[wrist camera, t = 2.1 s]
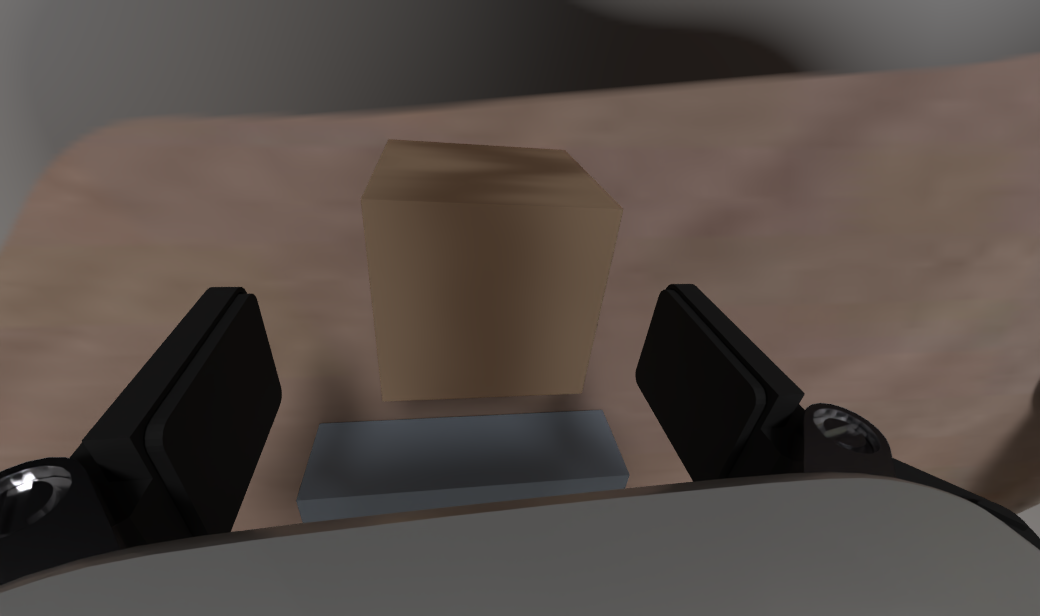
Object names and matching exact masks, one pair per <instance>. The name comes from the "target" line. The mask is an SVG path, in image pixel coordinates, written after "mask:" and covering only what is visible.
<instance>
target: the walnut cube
mask: <svg viewBox="0 0 1040 616" xmlns="http://www.w3.org/2000/svg"><path fill="white" fill-rule="evenodd" d="M361 206H362V215H363V224H364V234H365V243H366V252H367V261H368V271H369V280H370V289H371V299H372V308H373V317H374V327H375V336H376V345H377V355H378V364H379V373H380V383H381V392H382V401H383V402H384V401H409V400H433V399H458V398H482V397H507V396H531V395H556V394H580V393H582V389H583V385H584V381H585V376H586V372H587V367H588V363H589V359H590V354H591V350H592V345H593V341H594V336H595V332H596V328H597V323H598V319H599V314H600V310H601V306H602V301H603V297H604V292H605V288H606V283H607V279H608V275H609V270H610V266H611V261H612V257H613V253H614V248H615V244H616V239H617V235H618V230H619V226H620V222H621V217H622V213H623V208H622V207H621V206H620V205H619V204H618V203H617V202H616V201H615V200H614V199H613V198H612V197H611V196H610V195H609V194H608V193H607V192H606V191H605V190H604V189H603V188H602V187H601V186H600V185H599V184H598V183H597V182H596V181H595V180H594V179H593V178H592V177H591V176H590V175H589V174H588V173H587V172H586V171H585V170H584V169H583V168H582V167H581V166H580V165H579V164H578V163H577V162H576V161H575V160H574V159H573V158H572V157H571V156H570V155H569V154H568V153H567V152H566V151H565V150H553V149H537V148H521V147H504V146H488V145H472V144H455V143H439V142H423V141H407V140H390V139H389V140H388V142H387V144H386V146H385V148H384V150H383V153H382V155H381V157H380V159H379V161H378V163H377V166H376V168H375V170H374V172H373V174H372V176H371V178H370V181H369V183H368V185H367V187H366V189H365V191H364V194H363V196H362V198H361Z"/></svg>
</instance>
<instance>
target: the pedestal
mask: <svg viewBox="0 0 1040 616" xmlns="http://www.w3.org/2000/svg"><path fill="white" fill-rule="evenodd" d="M628 478H629V472H628V470H627V468H626V465H625V463H624V460H623V458H622V456H621V453H620V451H619V449H618V446H617V444H616V441H615V439H614V437H613V434H612V432H611V430H610V427H609V425H608V422H607V420H606V418H605V415H604V413H603V410H589V411H569V412H548V413H528V414H507V415H487V416H466V417H445V418H425V419H404V420H384V421H363V422H342V423H322V424H319V428H318V431H317V434H316V437H315V441H314V444H313V447H312V451H311V454H310V457H309V460H308V464H307V467H306V470H305V474H304V477H303V480H302V483H301V487H300V490H299V493H298V497H297V500H296V502H297V505H298V508H299V512H300V515H301V518H302V521H303V523H308V522H317V521H326V520H335V519H344V518H354V517H363V516H372V515H381V514H390V513H399V512H408V511H417V510H426V509H435V508H444V507H453V506H463V505H472V504H482V503H491V502H500V501H510V500H519V499H529V498H538V497H548V496H557V495H567V494H577V493H586V492H596V491H605V490H615V489H625V486H626V484H627V481H628Z"/></svg>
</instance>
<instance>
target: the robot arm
mask: <svg viewBox="0 0 1040 616" xmlns="http://www.w3.org/2000/svg"><path fill="white" fill-rule="evenodd" d="M636 382H637V384H638V386H639V388H640V390H641V392H642V393H643V395H644V397H645V399H646V400H647V402H648V404H649V405H650V407H651V409H652V411H653V412H654V414H655V416H656V418H657V419H658V421H659V423H660V425H661V426H662V428H663V430H664V432H665V433H666V435H667V437H668V438H669V440H670V442H671V444H672V445H673V447H674V449H675V451H676V452H677V454H678V456H679V458H680V459H681V461H682V463H683V465H684V466H685V468H686V470H687V471H688V473H689V475H690V477H691V478H692V480H693V482H686V483H676V484H666V485H656V486H646V487H635V488H625V489H615V490H605V491H596V492H586V493H577V494H567V495H557V496H548V497H538V498H529V499H519V500H510V501H500V502H491V503H482V504H472V505H463V506H453V507H444V508H435V509H426V510H417V511H408V512H399V513H390V514H381V515H372V516H363V517H354V518H344V519H335V520H326V521H317V522H308V523H300V524H292V525H284V526H276V527H268V528H260V529H252V530H244V531H236V532H231V530H232V527H233V524H234V522H235V519H236V517H237V514H238V512H239V509H240V506H241V504H242V501H243V499H244V496H245V494H246V491H247V488H248V486H249V483H250V481H251V478H252V476H253V473H254V470H255V468H256V465H257V463H258V460H259V458H260V455H261V452H262V450H263V447H264V445H265V442H266V440H267V437H268V434H269V432H270V429H271V427H272V424H273V422H274V419H275V417H276V414H277V411H278V409H279V406H280V403H281V398H282V390H281V385H280V382H279V378H278V374H277V371H276V367H275V363H274V360H273V356H272V353H271V349H270V345H269V342H268V338H267V334H266V331H265V327H264V323H263V320H262V316H261V312H260V309H259V305H258V301H257V299H256V296H255V295H254V294H247V292H246V291H245V289H244V288H242V287H210V288H209V289H207V290H206V292H205V293H204V294H203V295H202V296H201V298H200V299H199V300H198V301H197V302H196V304H195V305H194V306H193V307H192V308H191V310H190V311H189V312H188V313H187V314H186V316H185V317H184V318H183V319H182V320H181V322H180V323H179V324H178V325H177V327H176V328H175V329H174V330H173V331H172V333H171V334H170V335H169V336H168V337H167V339H166V340H165V341H164V342H163V343H162V345H161V346H160V347H159V348H158V349H157V351H156V352H155V353H154V354H153V355H152V357H151V358H150V359H149V360H148V361H147V363H146V364H145V365H144V366H143V367H142V369H141V370H140V371H139V372H138V373H137V375H136V376H135V377H134V378H133V380H132V381H131V382H130V383H129V384H128V386H127V387H126V388H125V389H124V390H123V392H122V393H121V394H120V395H119V396H118V398H117V399H116V400H115V401H114V402H113V404H112V405H111V406H110V407H109V408H108V410H107V411H106V412H105V413H104V414H103V416H102V417H101V418H100V419H99V420H98V422H97V423H96V424H95V425H94V426H93V428H92V429H91V430H90V431H89V433H88V434H87V435H86V436H85V437H84V439H83V440H82V443H81V445H80V446H79V447H78V448H77V449H76V451H75V452H74V453H73V454H72V455H71V457H70V458H66V457H48V458H43V459H38V460H33V461H28V462H25V463H22V464H19V465H17V466H14V467H11V468H8V469H5V470H3V471H1V472H0V616H1040V538H1039V537H1038V536H1037V535H1036V534H1035V533H1034V531H1033V530H1032V529H1030V528H1029V526H1028V525H1027V524H1026V523H1025V522H1024V521H1023V520H1022V519H1021V518H1020V517H1018V516H1017V515H1016V514H1015V513H1013V512H1012V511H1010V510H1009V509H1007V508H1005V507H1003V506H1001V505H999V504H996V503H994V502H991V501H989V500H987V499H985V498H983V497H980V496H978V495H976V494H974V493H971V492H969V491H967V490H965V489H962V488H960V487H958V486H955V485H953V484H951V483H949V482H946V481H944V480H942V479H939V478H937V477H935V476H933V475H930V474H928V473H926V472H923V471H921V470H919V469H917V468H914V467H912V466H910V465H908V464H905V463H903V462H901V461H898V460H896V459H894V458H892V454H891V450H890V446H889V444H888V442H887V439H886V438H885V437H884V435H883V434H882V433H881V432H880V431H879V429H877V428H876V427H875V426H874V425H873V424H871V423H870V422H869V421H868V420H866V419H864V418H863V417H861V416H859V415H858V414H856V413H854V412H852V411H850V410H847V409H845V408H843V407H839V406H836V405H832V404H825V403H817V404H812V405H810V406H809V407H807V408H806V409H805V410H804V409H803V408H802V407H801V406H800V405H799V403H800V401H801V399H802V398H803V396H804V394H805V393H804V392H803V391H802V390H801V389H800V388H799V387H798V386H797V385H796V384H795V383H794V382H793V381H792V380H790V379H789V378H788V377H787V376H786V375H785V374H784V373H783V372H782V371H781V370H780V369H779V368H778V367H777V366H776V365H775V364H774V363H773V362H772V361H771V360H770V359H769V358H768V357H767V356H766V355H765V354H764V353H763V352H762V351H761V350H760V349H759V348H758V347H757V346H756V345H755V344H754V343H753V342H752V341H751V340H750V339H749V338H748V337H747V336H746V335H745V334H744V333H743V332H742V331H741V330H740V329H739V328H738V327H737V326H736V325H735V324H734V323H733V322H732V321H731V320H730V319H729V318H728V317H727V316H726V315H725V314H724V313H723V312H722V311H721V310H720V309H719V308H718V307H717V306H716V305H715V304H714V303H713V302H712V301H711V300H710V299H708V298H707V297H706V296H705V295H704V294H703V293H702V292H701V291H700V290H699V289H698V288H697V287H696V286H695V285H693V284H671V285H669V286H668V287H667V288H666V290H663V291H661V293H660V295H659V297H658V301H657V304H656V307H655V310H654V314H653V317H652V320H651V323H650V327H649V330H648V333H647V336H646V340H645V343H644V346H643V349H642V352H641V356H640V359H639V362H638V365H637V369H636Z"/></svg>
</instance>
